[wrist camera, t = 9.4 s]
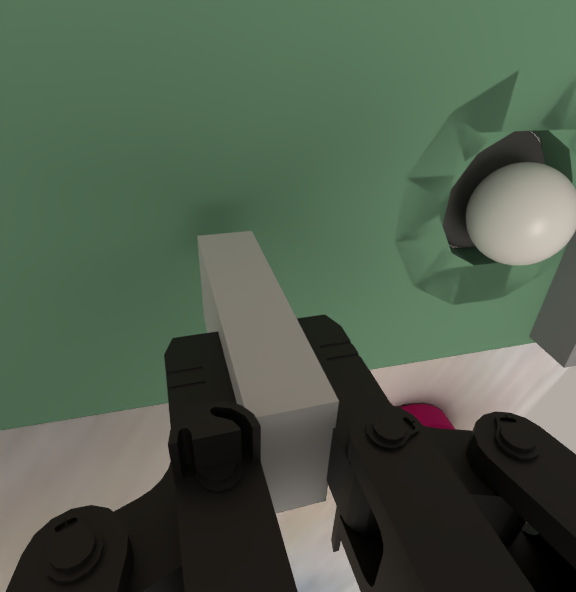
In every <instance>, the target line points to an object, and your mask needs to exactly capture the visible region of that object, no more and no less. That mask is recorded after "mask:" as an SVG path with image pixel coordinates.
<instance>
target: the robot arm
mask: <svg viewBox="0 0 576 592" xmlns="http://www.w3.org/2000/svg"><path fill="white" fill-rule="evenodd" d="M197 240H198V252H199V264H200V276H201V287H202V299H203V311H204V320H205V324H206V329H207V333H203V334H196V335H189V336H182V337H176V338H172V340H171V342H170V344H169V346H168V348H167V350H166V352H165V354H164V359H165V370H166V381H167V390H168V402H169V413H170V423H171V430H170V436H169V442H168V448H169V454H170V459H171V463H170V466H169V469H168V470H167V472H166V473H165V475H164V476H163V478H162V480H161V481H160V482H159V483H158V484H157V485H156V486H155V487H154V488H153V489H152V490H150V491H149V492H147V493H146V494H144V495H143V496H141V497H140V498H138V499H136V500H134V501H132V502H131V503H129V504H127V505H125V506H123V507H121V508H120V509H118V510H116V511H114V512H113V511H112V510H110V509H109V508H105V507H99V506H93V505H89V506H84V507H79V508H74V509H70V510H68V511H67V512H65V513H63V514H61V515H59V516H57V517H55V518H53V519H51V520H50V521H49V522H48V523H47V524H46V525H45V526H44V527H42V528H41V529H40V530H39V531H38V532H37V533H36V534H35V535H34V536H33V538H32V539H31V541H30V542H29V544H28V546H27V547H26V549H25V550H24V552H23V554H22V555H21V558H20V560H19V562H18V565H17V567H16V569H15V571H14V574H13V576H12V578H11V581H10V583H9V585H8V588H7V590H6V592H297V588H296V584H295V581H294V577H293V574H292V570H291V567H290V563H289V560H288V556H287V553H286V549H285V546H284V542H283V538H282V535H281V531H280V528H279V524H278V521H277V517H276V513H280V512H283V511H287V510H291V509H295V508H299V507H303V506H307V505H311V504H315V503H319V502H323V501H326V495H327V487H328V485H329V488H330V490H331V493H332V495H333V498H334V500H335V503H336V505H337V507H336V513H335V520H334V526H333V532H332V539H331V541H332V547H333V552H336V551H339V547H340V541H342V544H343V547H344V549H345V552H346V555H347V557H348V560H349V562H350V565H351V568H352V570H353V573H354V575H355V578H356V581H357V583H358V586H359V588H360V591H361V592H576V454H574V453H573V452H572V451H570V450H569V449H568V448H567V447H565V446H564V445H563V444H562V443H560V442H559V441H558V440H556V439H555V438H554V437H552V436H551V435H550V434H549V433H547V432H546V431H545V430H544V429H542V428H541V427H540V426H538V425H536V424H535V423H533V422H531V421H530V420H528V419H526V418H524V417H521V416H518V415H515V414H512V413H506V412H492V413H489V414H485V415H483V416H482V417H481V418H480V419H479V420H478V421H477V422H476V423H475V426H474V428H473V431H468V430H454V429H441V428H433V427H427V426H424V425H422V423H421V422H420V421H419V420H418V419H417V418H416V417H415V416H414V415H413V414H411V413H409V412H407V411H406V410H404V409H402V408H400V407H396V406H392V404H391V403H390V402H389V400H388V399H387V397H386V396H385V394H384V392H383V391H382V389H381V388H380V386H379V385H378V383H377V381H376V380H375V378H374V377H373V375H372V374H371V372H370V370H369V369H368V367H367V366H366V364H365V363H364V361H363V359H362V358H361V356H359V354H358V351H357V350H356V348H355V347H354V345H353V344H351V340H350V339H349V337H348V336H347V334H346V333H345V331H344V329H343V328H342V326H341V325H339V324H338V323H336V322H335V321H334V320H332V319H331V318H329V317H328V316H327V315H325V314H324V315H317V316H310V317H303V318H296V316H295V314H294V312H293V310H292V308H291V307H290V305H289V303H288V301H287V299H286V297H285V295H284V293H283V291H282V289H281V287H280V285H279V283H278V281H277V279H276V277H275V275H274V273H273V271H272V269H271V267H270V266H269V264H268V262H267V260H266V258H265V256H264V254H263V252H262V250H261V248H260V246H259V244H258V242H257V240H256V238H255V236H254V234H253V232H252V231H244V232H233V233H222V234H212V235H201V236H197Z"/></svg>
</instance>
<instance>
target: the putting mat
mask: <svg viewBox="0 0 576 592" xmlns="http://www.w3.org/2000/svg"><path fill="white" fill-rule="evenodd" d="M530 131H533V132H534V133H535V134H536V135H537V136H538V137H539V138H541V145H542V147H541V145H540V143H539V141H538V139H537V138H536V137H535V136H534V135H533V134H532V133H531V132H530ZM521 162H534V163H540V164H544V165H548V166H550V167H552V168H554V169H556V170H558V171H560V172H561V173H562V174H563V175H565V176H566V177H567V178H568V179H569V180H570V182H571V183H572V185H573V186H574V188H575V190H576V0H0V430H6V429H12V428H18V427H24V426H30V425H36V424H42V423H48V422H54V421H61V420H67V419H73V418H79V417H85V416H91V415H97V414H103V413H109V412H115V411H121V410H127V409H134V408H140V407H146V406H152V405H158V404H164V403H169V402H168V390H167V381H166V370H165V359H164V354H165V352H166V350H167V348H168V346H169V344H170V342H171V340H172V338H176V337H182V336H189V335H196V334H203V333H207V329H206V324H205V320H204V311H203V299H202V287H201V276H200V264H199V252H198V240H197V236H201V235H212V234H222V233H233V232H244V231H252V232H253V234H254V236H255V238H256V240H257V242H258V244H259V246H260V248H261V250H262V252H263V254H264V256H265V258H266V260H267V262H268V264H269V266H270V267H271V269H272V271H273V273H274V275H275V277H276V279H277V281H278V283H279V285H280V287H281V289H282V291H283V293H284V295H285V297H286V299H287V301H288V303H289V305H290V307H291V308H292V310H293V312H294V314H295V316H296V318H303V317H310V316H317V315H324V314H325V315H327V316H328V317H329V318H331V319H332V320H334V321H335V322H336V323H338V324H339V325H341V326H342V328H343V329H344V331H345V333H346V334H347V336H348V337H349V339H350V340H351V344H353V345H354V347H355V348H356V350H357V351H358V354H359V356H361V358H362V359H363V361H364V363H365V364H366V366H367V367H368V369H369V370H371V369H377V368H383V367H389V366H395V365H401V364H407V363H413V362H419V361H426V360H432V359H438V358H444V357H450V356H456V355H462V354H468V353H474V352H480V351H486V350H492V349H499V348H505V347H511V346H517V345H523V344H529V343H535V342H536V343H537V344H538V345H539V346H540V347H541V348H543V349H544V350H545V351H546V352H547V353H548V354H549V355H550V356H551V357H553V358H554V359H555V360H556V361H557V362H558V363H559V364H560V365H562V366H563V367H564V368H565V367H570V366H576V230H575V233H574V234H573V236H572V238H571V239H570V240H569V242H568V243H567V244H566V245H565V246H564V247H563V248H562V249H561V250H560V251H559V252H557V253H556V254H554V255H553V256H551V257H550V258H548V259H545V260H543V261H541V262H538V263H534V264H530V265H508V264H503V263H499V262H497V261H494V260H492V259H490V258H488V257H487V256H485V255H484V254H483V253H482V252H480V251H479V250H478V249H477V247H476V246H475V245H474V244H473V242H472V240H471V238H470V236H469V234H468V231H467V227H466V209H467V205H468V202H469V199H470V197H471V195H472V193H473V192H474V190H475V189H476V187H477V186H478V185H479V184H480V182H481V181H482V180H483V179H485V178H486V177H487V176H488V175H489V174H491V173H493V172H494V171H496V170H498V169H500V168H502V167H504V166H507V165H510V164H514V163H521ZM449 244H451V245H453V246H457V247H465V248H455V249H453V248H452V247H450V246H449Z"/></svg>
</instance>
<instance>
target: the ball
mask: <svg viewBox="0 0 576 592" xmlns="http://www.w3.org/2000/svg"><path fill="white" fill-rule="evenodd" d="M466 227H467V231H468V234H469V236H470V238H471V240H472V242H473V244H474V245H475V246H476V247H477V249H478V250H479V251H480V252H482V253H483V254H484V255H485V256H487V257H488V258H490V259H492V260H494V261H497V262H499V263H503V264H508V265H530V264H534V263H538V262H541V261H543V260H545V259H548V258H550V257H551V256H553V255H554V254H556V253H557V252H559V251H560V250H561V249H562V248H563V247H564V246H565V245H566V244H567V243H568V242H569V240H570V239H571V238H572V236H573V234H574V233H575V230H576V190H575V188H574V186H573V185H572V183H571V182H570V180H569V179H568V178H567V177H566V176H565V175H563V174H562V173H561V172H560V171H558V170H556V169H554V168H552V167H550V166H548V165H544V164H540V163H534V162H521V163H514V164H510V165H507V166H504V167H502V168H500V169H498V170H496V171H494V172H493V173H491V174H489V175H488V176H487V177H486V178H485V179H483V180H482V181H481V182H480V184H479V185H478V186H477V187H476V189H475V190H474V192H473V193H472V195H471V197H470V199H469V202H468V205H467V209H466Z"/></svg>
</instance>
